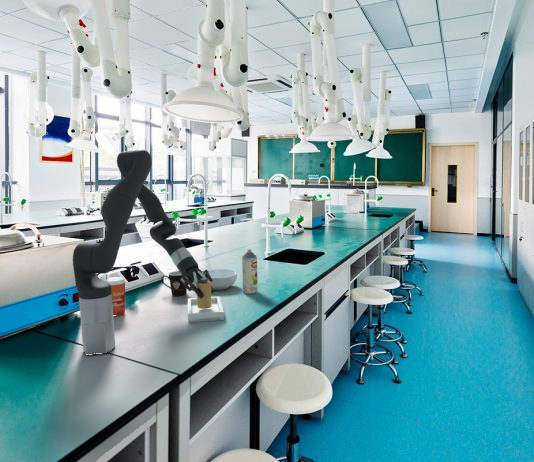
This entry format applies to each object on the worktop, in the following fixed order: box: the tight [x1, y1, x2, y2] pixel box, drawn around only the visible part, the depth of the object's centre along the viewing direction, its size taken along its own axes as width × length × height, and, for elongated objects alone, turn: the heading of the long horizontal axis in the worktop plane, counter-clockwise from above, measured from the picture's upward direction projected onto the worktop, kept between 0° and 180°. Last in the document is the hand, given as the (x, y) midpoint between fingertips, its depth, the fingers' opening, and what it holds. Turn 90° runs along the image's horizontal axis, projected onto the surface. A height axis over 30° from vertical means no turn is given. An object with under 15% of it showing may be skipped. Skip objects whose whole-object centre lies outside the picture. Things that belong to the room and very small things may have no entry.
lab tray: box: [187, 296, 225, 323], centre depth 156 cm, size 20×13×3 cm, turn 11°
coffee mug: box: [160, 270, 188, 298], centre depth 180 cm, size 12×9×10 cm
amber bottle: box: [196, 278, 212, 309], centre depth 155 cm, size 6×6×11 cm
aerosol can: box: [241, 248, 259, 296], centre depth 181 cm, size 7×7×20 cm
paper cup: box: [105, 276, 127, 316], centre depth 154 cm, size 8×8×14 cm
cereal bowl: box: [208, 268, 238, 291], centre depth 191 cm, size 17×17×7 cm
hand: (207, 295), depth 154 cm, fingers closed on amber bottle, 5 cm apart
